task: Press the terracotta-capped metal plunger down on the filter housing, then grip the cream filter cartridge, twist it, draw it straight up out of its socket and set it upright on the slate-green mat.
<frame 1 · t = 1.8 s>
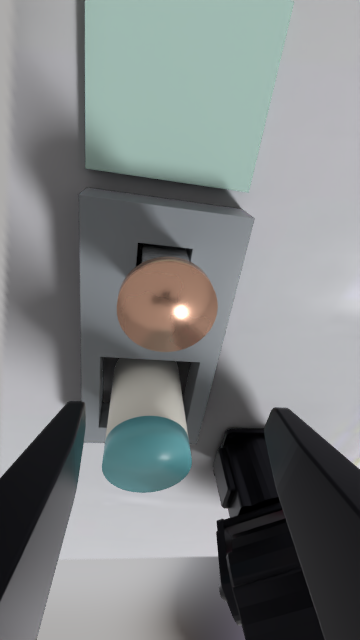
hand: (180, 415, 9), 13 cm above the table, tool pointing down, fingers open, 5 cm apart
mat: (180, 93, 16), on the table
cartridge: (146, 373, 24), resting in housing
plunger: (164, 284, 16), point 4 cm above the table, slide at 0.0 cm
housing: (151, 330, 22), on the table
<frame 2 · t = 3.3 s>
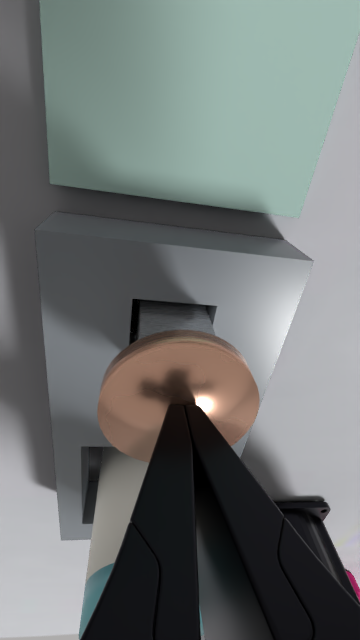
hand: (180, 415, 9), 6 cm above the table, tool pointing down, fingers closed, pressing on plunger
mat: (200, 62, 10), on the table
cartridge: (146, 446, 19), resting in housing
plunger: (172, 352, 11), point 3 cm above the table, slide at 0.9 cm, touching gripper
housing: (153, 397, 16), on the table
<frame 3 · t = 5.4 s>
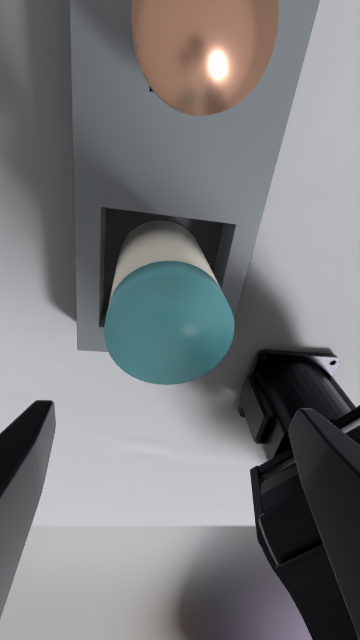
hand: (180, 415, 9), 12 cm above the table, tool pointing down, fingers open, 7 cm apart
cartridge: (160, 262, 19), resting in housing
plunger: (193, 48, 12), point 3 cm above the table, slide at 1.4 cm
housing: (169, 192, 17), on the table
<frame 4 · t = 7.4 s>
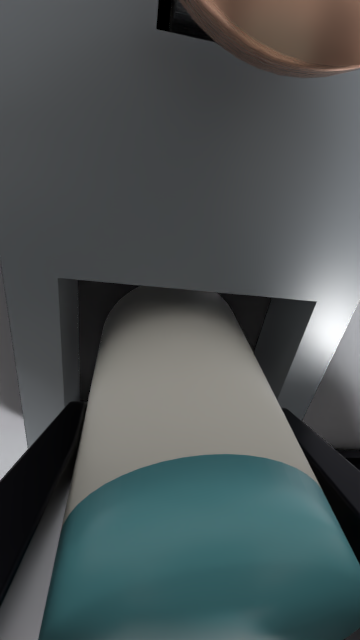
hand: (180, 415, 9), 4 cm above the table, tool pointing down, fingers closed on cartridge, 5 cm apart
cartridge: (171, 341, 12), resting in housing, touching gripper
housing: (188, 235, 10), on the table
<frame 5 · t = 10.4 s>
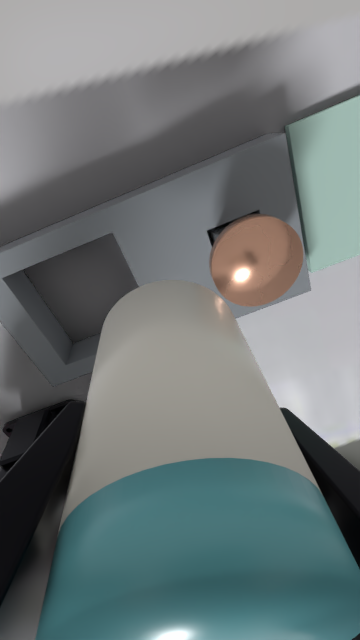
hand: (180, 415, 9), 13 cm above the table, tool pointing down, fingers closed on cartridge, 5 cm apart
cartridge: (170, 342, 12), point 10 cm above the table, touching gripper
plunger: (241, 247, 17), point 3 cm above the table, slide at 1.4 cm
housing: (148, 266, 20), on the table
when the fingers open (5 cm above the table, at t = 13.4 s): cartridge drops 2 cm, resting on mat.
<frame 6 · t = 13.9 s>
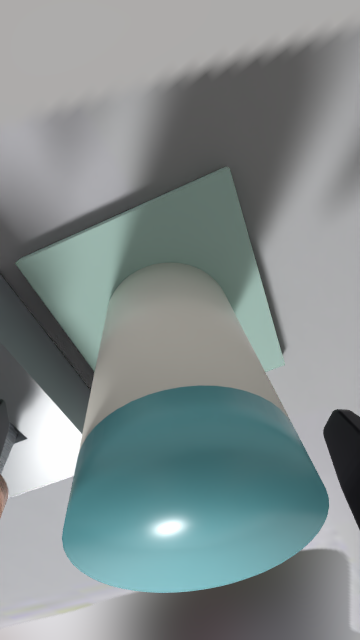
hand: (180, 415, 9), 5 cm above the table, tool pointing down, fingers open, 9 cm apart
mat: (168, 315, 13), on the table
cartridge: (168, 320, 13), point 1 cm above the table, touching mat
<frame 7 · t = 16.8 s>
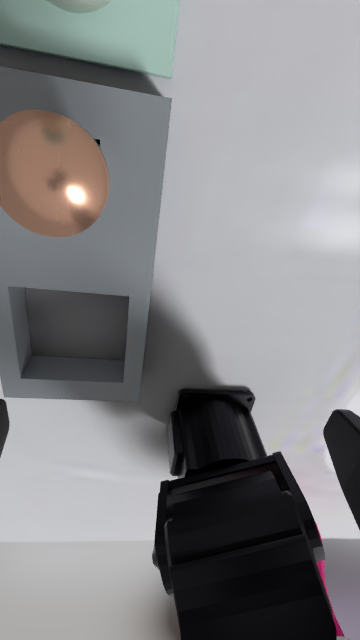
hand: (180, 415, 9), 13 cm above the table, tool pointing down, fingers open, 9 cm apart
plunger: (64, 172, 14), point 3 cm above the table, slide at 1.4 cm
housing: (78, 264, 19), on the table
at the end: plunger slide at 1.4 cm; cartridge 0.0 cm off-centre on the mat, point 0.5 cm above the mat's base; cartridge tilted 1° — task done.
